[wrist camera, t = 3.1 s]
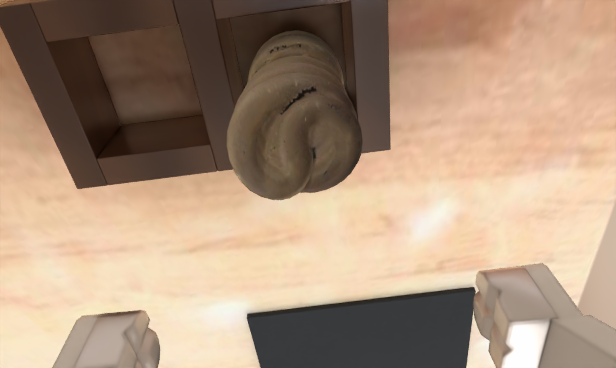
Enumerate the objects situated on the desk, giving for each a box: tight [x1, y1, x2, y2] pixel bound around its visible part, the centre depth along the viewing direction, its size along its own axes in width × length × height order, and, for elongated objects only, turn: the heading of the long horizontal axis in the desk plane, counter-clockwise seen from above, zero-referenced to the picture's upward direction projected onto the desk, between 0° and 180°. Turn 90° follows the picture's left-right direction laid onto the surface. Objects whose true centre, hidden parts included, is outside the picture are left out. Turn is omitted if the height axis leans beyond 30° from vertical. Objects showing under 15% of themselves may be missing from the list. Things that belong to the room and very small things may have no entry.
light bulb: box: [227, 30, 363, 200], centre depth 23 cm, size 6×6×15 cm
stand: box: [0, 0, 390, 189], centre depth 28 cm, size 20×11×5 cm, turn 97°
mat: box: [247, 287, 476, 368], centre depth 46 cm, size 22×12×1 cm, turn 97°
